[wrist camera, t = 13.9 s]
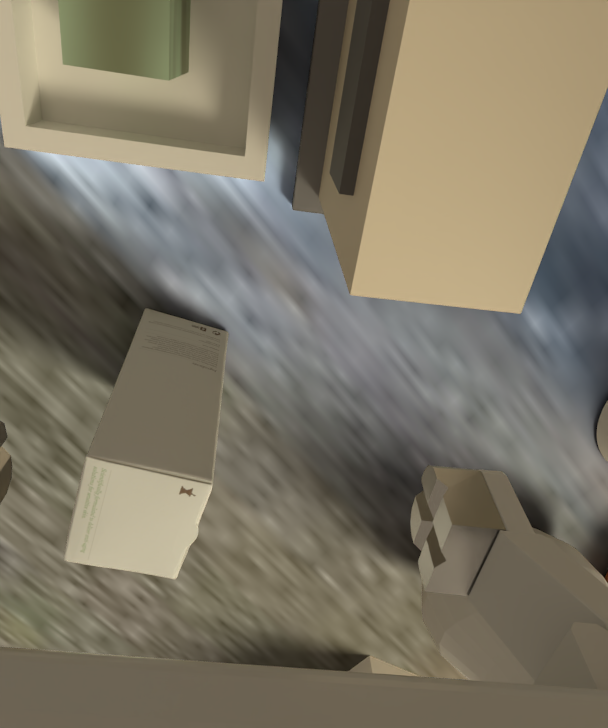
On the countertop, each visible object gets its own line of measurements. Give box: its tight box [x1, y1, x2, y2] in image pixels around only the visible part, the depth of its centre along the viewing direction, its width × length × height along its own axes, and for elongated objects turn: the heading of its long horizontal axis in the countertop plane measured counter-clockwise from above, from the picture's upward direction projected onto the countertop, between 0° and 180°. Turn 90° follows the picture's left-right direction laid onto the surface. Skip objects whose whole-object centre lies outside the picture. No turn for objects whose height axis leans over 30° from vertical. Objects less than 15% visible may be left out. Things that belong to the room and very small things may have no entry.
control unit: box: [292, 0, 608, 314], centre depth 24 cm, size 10×18×16 cm, turn 172°
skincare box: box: [64, 308, 229, 579], centre depth 34 cm, size 8×7×16 cm
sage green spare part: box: [58, 0, 191, 81], centre depth 25 cm, size 4×4×7 cm
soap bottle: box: [422, 528, 608, 685], centre depth 41 cm, size 17×12×29 cm
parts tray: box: [0, 0, 283, 181], centre depth 28 cm, size 14×14×4 cm
